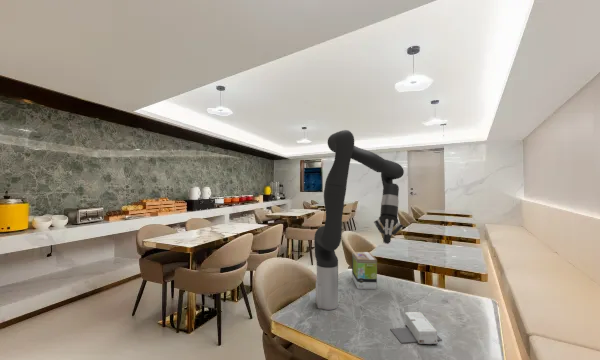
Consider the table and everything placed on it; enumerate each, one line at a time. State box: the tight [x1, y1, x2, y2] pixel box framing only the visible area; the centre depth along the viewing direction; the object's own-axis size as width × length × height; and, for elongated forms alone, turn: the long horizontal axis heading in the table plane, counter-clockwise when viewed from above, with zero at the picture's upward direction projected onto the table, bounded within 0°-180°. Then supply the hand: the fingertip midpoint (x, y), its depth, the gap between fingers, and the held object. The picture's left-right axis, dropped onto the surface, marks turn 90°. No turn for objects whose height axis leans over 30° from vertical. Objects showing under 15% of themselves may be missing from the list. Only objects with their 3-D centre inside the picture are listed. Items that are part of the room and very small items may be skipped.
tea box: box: [351, 251, 378, 290], centre depth 133 cm, size 15×10×15 cm
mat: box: [390, 327, 443, 345], centre depth 88 cm, size 14×8×1 cm, turn 96°
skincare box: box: [404, 311, 438, 345], centre depth 88 cm, size 6×4×12 cm
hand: (386, 243), depth 115 cm, fingers closed
